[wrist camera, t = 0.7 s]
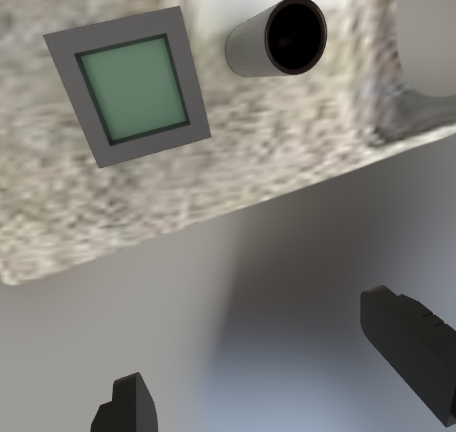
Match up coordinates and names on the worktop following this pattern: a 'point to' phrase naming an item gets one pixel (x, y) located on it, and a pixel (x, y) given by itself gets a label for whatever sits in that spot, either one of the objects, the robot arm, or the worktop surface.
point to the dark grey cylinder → (278, 41)
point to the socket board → (132, 84)
